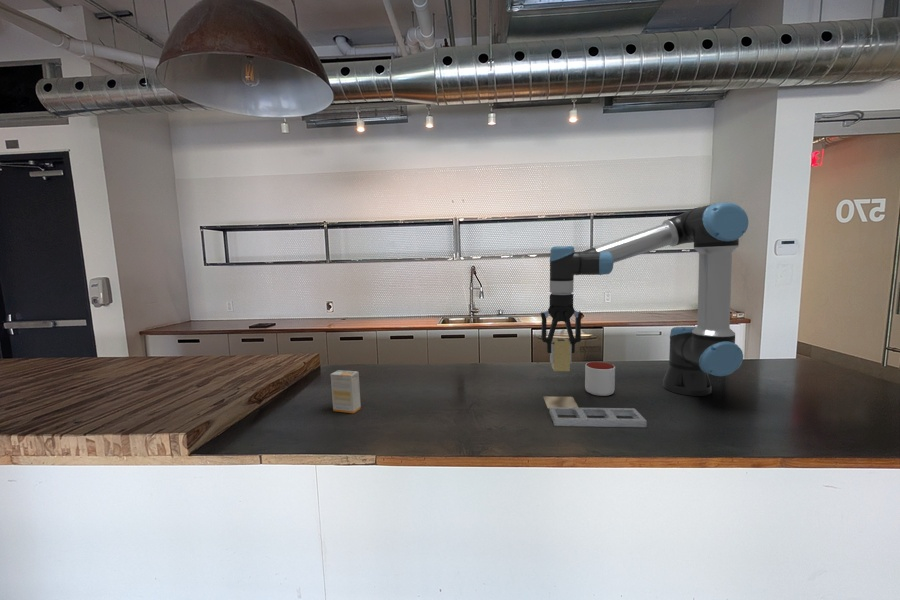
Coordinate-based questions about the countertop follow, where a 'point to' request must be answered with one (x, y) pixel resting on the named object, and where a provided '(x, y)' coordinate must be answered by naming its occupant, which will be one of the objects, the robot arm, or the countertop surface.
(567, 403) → the coaster
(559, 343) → the tall beige post
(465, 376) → the countertop surface
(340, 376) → the supplement box
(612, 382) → the cup
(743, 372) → the countertop surface
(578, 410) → the grey slotted tray
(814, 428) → the countertop surface
